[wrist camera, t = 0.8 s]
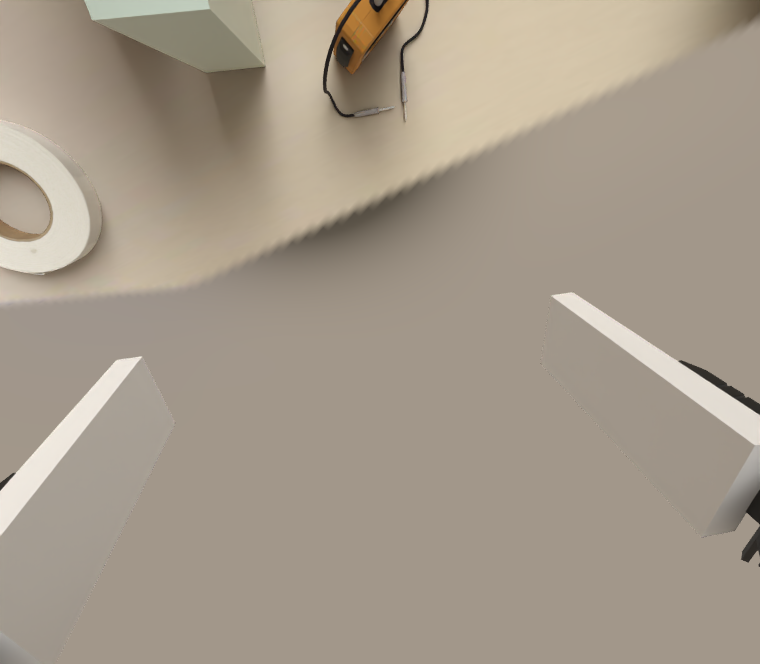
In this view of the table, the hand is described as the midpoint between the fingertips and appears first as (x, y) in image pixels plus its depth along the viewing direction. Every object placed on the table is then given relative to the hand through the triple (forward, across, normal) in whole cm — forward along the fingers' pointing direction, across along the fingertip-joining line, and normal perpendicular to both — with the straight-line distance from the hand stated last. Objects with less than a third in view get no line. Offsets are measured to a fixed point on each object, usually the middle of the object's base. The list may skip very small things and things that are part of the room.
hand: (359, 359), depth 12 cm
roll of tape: (+38, +34, -3) cm, 51 cm away
